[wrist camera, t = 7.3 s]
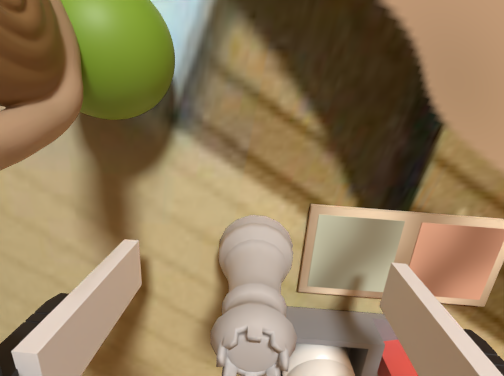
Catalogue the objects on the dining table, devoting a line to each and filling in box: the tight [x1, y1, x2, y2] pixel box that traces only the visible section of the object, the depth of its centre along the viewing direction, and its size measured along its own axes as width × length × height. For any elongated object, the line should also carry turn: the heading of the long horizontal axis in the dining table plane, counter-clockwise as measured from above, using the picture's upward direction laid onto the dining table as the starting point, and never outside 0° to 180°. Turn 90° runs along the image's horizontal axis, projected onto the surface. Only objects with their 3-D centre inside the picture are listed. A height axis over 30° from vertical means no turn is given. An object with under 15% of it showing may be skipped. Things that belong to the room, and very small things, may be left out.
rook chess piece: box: [211, 215, 297, 376], centre depth 13 cm, size 4×4×8 cm
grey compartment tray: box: [281, 306, 418, 376], centre depth 17 cm, size 12×6×4 cm, turn 86°
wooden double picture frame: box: [298, 204, 504, 306], centre depth 17 cm, size 12×6×1 cm, turn 86°
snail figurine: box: [0, 0, 175, 170], centre depth 8 cm, size 5×6×12 cm
